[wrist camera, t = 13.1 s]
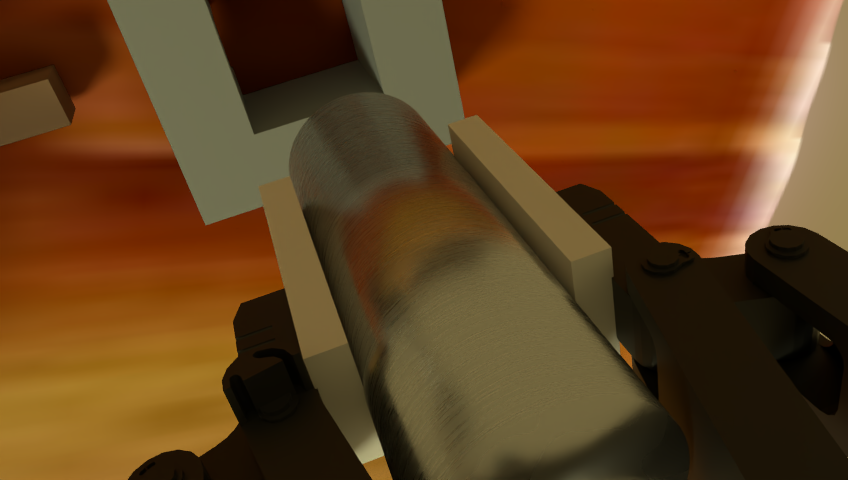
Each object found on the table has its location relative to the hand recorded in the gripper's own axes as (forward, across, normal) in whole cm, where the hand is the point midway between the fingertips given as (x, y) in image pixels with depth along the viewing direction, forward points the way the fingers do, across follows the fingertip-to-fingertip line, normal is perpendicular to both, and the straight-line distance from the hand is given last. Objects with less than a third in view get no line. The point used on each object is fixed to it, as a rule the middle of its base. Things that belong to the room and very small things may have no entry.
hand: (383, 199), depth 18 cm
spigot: (+2, 0, 0) cm, 2 cm away
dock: (+18, 0, 0) cm, 18 cm away
